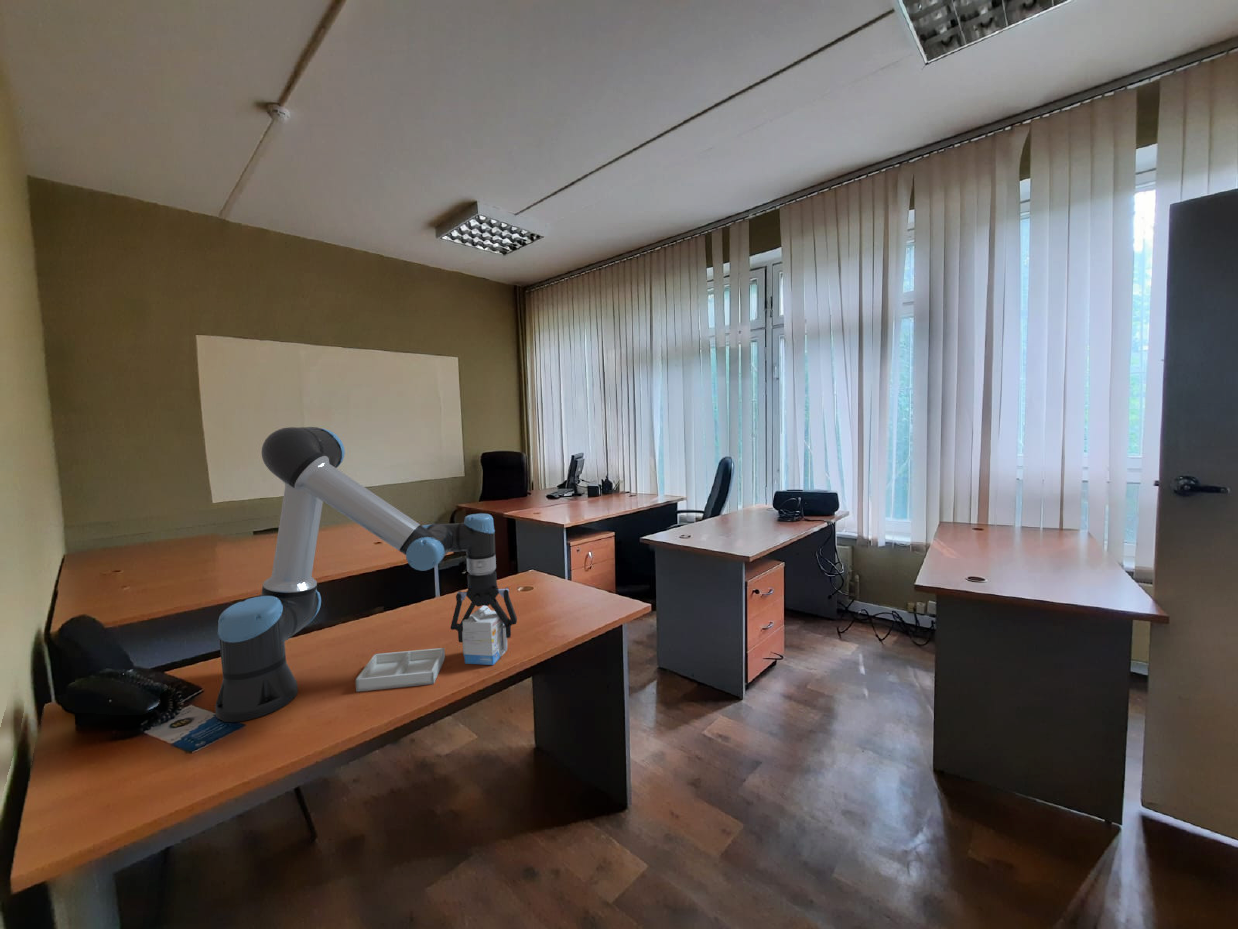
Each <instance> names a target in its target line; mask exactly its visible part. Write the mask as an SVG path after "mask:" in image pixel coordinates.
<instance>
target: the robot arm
mask: <svg viewBox="0 0 1238 929" xmlns="http://www.w3.org/2000/svg"><path fill="white" fill-rule="evenodd" d="M345 450H346V449H345V446H344V443H343V441H342V439H341V438H339V436H338V435H337V434H336V433H334V432H333V431H331V430H329V429H326V428H322V427H315V426H305V427H303V426H302V427H294V426H293V427H292V426H290V427H288V426H287V427H283V428H279V429H277V430H275V431H273V432H272V433H270V434H269V435H268V436H267V437H266V438H265V440H264V442H263V444H262V446H261V458H262V461H263V464H264V465H265V467H266V468H267V469H268V471H270V473H272V474H273V475H274V476H275V477H276V478H278V479H279V480H281V482H282V483H283V484H284V491H283V499H282V504H281V512H280V519H279V524H278V531H277V536H276V538H277V539H276V544H275V545H276V546H275V551H274V558H273V564H272V572H271V576H270V577H268V578H267V579H266V580H265V581H263V583H262V587H261V588H262V589H261V594H260V596H255V597H251V598H247V599H245V600H244V601H239V602H236V603H233V604H232V605H230V606H228V607H227V608H225V609H224V610H223V611H222V612H221V614H220V615H219V618H218V625H217V626H218V627H217V636H218V640H219V650H220V659H221V660H220V661H221V670H222V682H221V685H220V689H219V692H218V696H217V699H216V702H215V706H214V708H215V717H216V719H217V718H218V719H220V720H222V721H221V722H226V723H238V722H245V721H250V720H253V719H254V720H255V719H258V718H260V717H261V718H262V717H263V716H266V715H268V714H269V715H270V714H271V713H273V712H276V711H277V710H280V709H282V708H284V707H285V706H287V705H288V704H289V703H291V702H292V701H293V700H294V699H295V698H296V696H297V695H298V692H299V691H298V682H297V680H296V678H295V677H294V675H293V673H292V671H291V669H290V666H289V665H288V663H287V657H286V644H285V642H286V641H287V640H289V639H291V637H293V636H294V635H296V634H297V633H298V632H300V631H301V630H303V629H304V628H306V627H307V625H309V624H310V623H311V622H312V621H313V620H314V619H315V617H316V616H317V615H318V613H319V611H320V610H321V609H320V608H321V606H322V605H321V604H322V597H321V594H320V592H319V591H318V590H317V585H318V582H317V580H316V579H315V578H314V577H312V576H313V569H314V563H315V562H314V561H315V555H316V548H317V543H318V538H319V530H320V522H321V519H322V510H323V504H324V503H325V504H327V505H329V506H330V507H331V508H332V509H335V510H336V511H337V512H338V513H340V514H342V515H344V516H345V517H347V518H348V519H349V520H351V521H353V522H354V523H356V524H357V525H359V526H360V527H362V528H363V529H364V530H367V531H368V532H370V533H371V534H372V535H374V536H376V537H377V538H379V539H380V540H381V541H384V542H385V543H386V544H388V545H389V546H391V547H392V548H394V549H396V550H397V551H398V552H400V553H402V554H403V555H404V556H405V557H406V561H407V563H408V565H409V566H410V567H411V568H413V570H416V571H422V572H423V571H428V570H431V569H433V568H434V567H436V566H438V565H439V564H440V563H441V562H442V561H443V559H444V557H445V556H446V555H447V554H448V553H452V552H453V553H455V552H458V553H459V552H465V553H466V570H467V572H468V573H467V575H466V577H467V591H461V590H459V591H458V592H457V593H456V595H455V599H456V605H455V608H454V612H453V616H452V620H451V623H450V624H451V625H450V628H449V629H450V630H452V631H453V630H455V631H457V635H458V636H457V638H458V643H462V652H463V653H462V654H463V656H464V637H463V620H465V619H468V618H469V616H470V615H471V614H472V612H473V611H474V609H475V607H482V606H488V607H489V606H490V607H491V608H492V609H493V611H495V612H496V613H497V615H498V616H499V617H500V619H501V620H502V622H503V623H504V625H503V643H504V651H506V652H507V650H508V639H510V638H511V635H512V630H511V629H512V626H513V625H516V624H517V623H518V622H517V620H518V617H517V615H516V611H515V609H514V607H513V603H512V600H511V598H510V588H509V587H505V588H499V587H498V583H497V571H496V569H497V564H496V563H497V562H496V561H497V558H496V536H495V535H496V533H495V532H496V530H495V526H494V525H495V523H494V518H493V516H492V515H491V514H489V513H473V514H469V515H466V516H465V517H464V521H463V522H457V523H431V524H423V525H421V524H420V523H419V522H417V521H415V520H414V519H412V517H410V516H408V515H407V514H405V513H404V512H402V511H401V510H399V509H398V508H396V507H395V506H393V505H392V504H390V503H389V502H387V501H385V499H383V498H382V497H380V496H379V495H377V494H375V493H374V492H372V491H371V490H369V489H368V488H366V487H365V486H364V485H362V484H360V483H359V482H357V481H356V480H354V479H353V478H352V477H350V476H349V475H347V474H345V473H344V472H343V471H341V470H339V469H338V467H340V465H341V464H342V463H343V461H344V460H345V459H344V458H345V455H346V453H345V452H346V451H345ZM498 595H500V596H501V598H503V602H504V605H505V607H506V611H507V612H508V615H509V617H508V615H507V614H506V611H505V612H504V609H503V607H502V606H501V605H500V604H499V602H498V599H496V598H497V596H498ZM465 598H468V599H469V600H470V601H471V602H470V604H469V606H468V607H467V610H466V611H465V613H464V615H463V618H462V619H461V621H460V623H458V621H459V616H460V613H461V608H462V605H463V601H464V600H465ZM218 719H217V720H218ZM220 720H219V721H220Z"/></svg>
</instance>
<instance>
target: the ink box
mask: <svg viewBox="0 0 1238 929" xmlns="http://www.w3.org/2000/svg"><path fill="white" fill-rule="evenodd" d="M503 611H504V610H503ZM504 612H505V613H506V611H504ZM503 625H504V623H503V622H502V620H501V619H500V617H499V616H498V615H497V613H496V612H495V610H492V609H490V607H489V606H484V605H483V606H480V608H478V609H477V610H475V611H474V612H473V613H472V612H471V614H470V616H469V618H468V619H465V620H463V637H464V655H463V658H464V664H470V665H482V666H483V665H485V666H486V665H487V666H494V665H495V664H496V663H497V662H498V661H499V660H500V658H501V657H503V655H504V654H505V653H506V652H507V651H504V643H503Z"/></svg>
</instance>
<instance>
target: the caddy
mask: <svg viewBox="0 0 1238 929" xmlns="http://www.w3.org/2000/svg"><path fill="white" fill-rule="evenodd" d="M445 659H446V656H445V647H438V648H428V649H427V648H426V649H418V650H417V649H416V650H415V649H414V650H407V651H405V650H404V651H396V652H394V651H393V652H384V653H374V655H373V656H372V657H371V659H370V660H369V662H367V664H366V665H365V666H364V668H362V669H363V670H362V671H361V672H360V673H359V674H358V676H357V677H356V678H355V690H356V691H355V692H356V693H357V692H368V691H377V690H387V689H399V688H407V687H409V688H410V687H417V686H418V687H419V686H427V685H434V684H435V682H436V679H437V677H438V676H439V673H440V671H441V669H442V666H443V664H444V662H445Z"/></svg>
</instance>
